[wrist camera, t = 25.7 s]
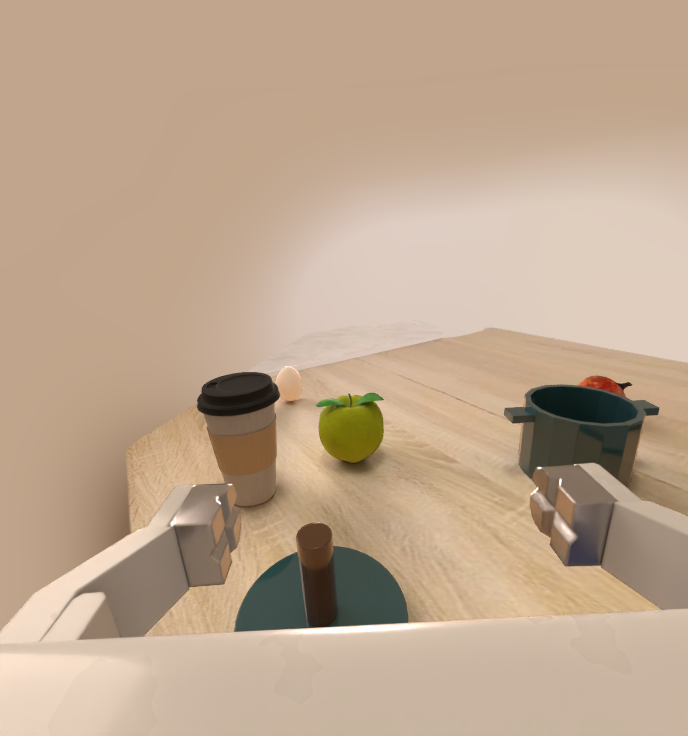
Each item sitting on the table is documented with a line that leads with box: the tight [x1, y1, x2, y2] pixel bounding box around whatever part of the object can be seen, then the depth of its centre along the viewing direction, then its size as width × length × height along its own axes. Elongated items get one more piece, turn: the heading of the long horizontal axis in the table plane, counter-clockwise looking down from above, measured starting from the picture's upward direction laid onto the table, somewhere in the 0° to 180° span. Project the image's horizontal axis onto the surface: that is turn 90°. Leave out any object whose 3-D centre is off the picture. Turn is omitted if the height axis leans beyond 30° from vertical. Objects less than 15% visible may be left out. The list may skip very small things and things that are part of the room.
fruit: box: [316, 393, 384, 463], centre depth 52 cm, size 9×9×10 cm
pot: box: [504, 385, 659, 488], centre depth 47 cm, size 12×18×10 cm
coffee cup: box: [197, 372, 280, 506], centre depth 45 cm, size 9×9×15 cm
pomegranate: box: [578, 376, 632, 397], centre depth 61 cm, size 7×7×10 cm
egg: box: [276, 366, 302, 401], centre depth 74 cm, size 5×5×7 cm
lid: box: [234, 523, 408, 632], centre depth 28 cm, size 13×13×9 cm
